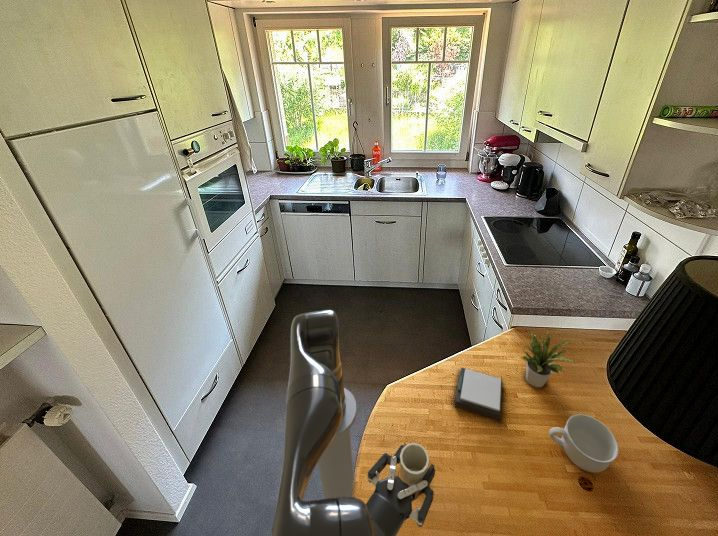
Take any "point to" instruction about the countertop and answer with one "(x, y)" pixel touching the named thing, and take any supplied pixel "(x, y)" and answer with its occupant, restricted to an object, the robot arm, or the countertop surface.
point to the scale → (479, 393)
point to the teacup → (587, 442)
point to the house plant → (542, 361)
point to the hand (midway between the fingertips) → (419, 456)
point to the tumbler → (413, 463)
